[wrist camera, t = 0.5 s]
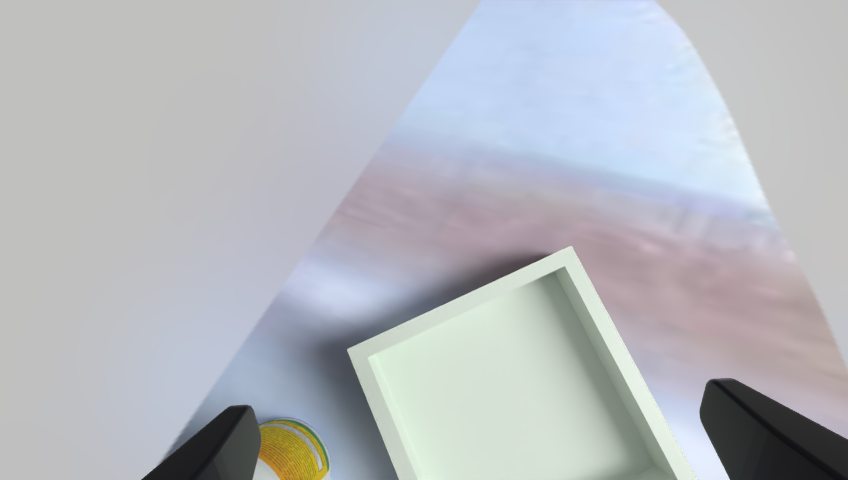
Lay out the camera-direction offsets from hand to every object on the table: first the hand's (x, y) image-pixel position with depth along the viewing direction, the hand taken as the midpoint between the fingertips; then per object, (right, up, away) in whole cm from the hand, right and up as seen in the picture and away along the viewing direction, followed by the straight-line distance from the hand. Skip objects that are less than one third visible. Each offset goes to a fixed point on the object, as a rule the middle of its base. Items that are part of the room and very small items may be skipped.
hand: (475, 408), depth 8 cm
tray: (+4, -6, +15) cm, 16 cm away
